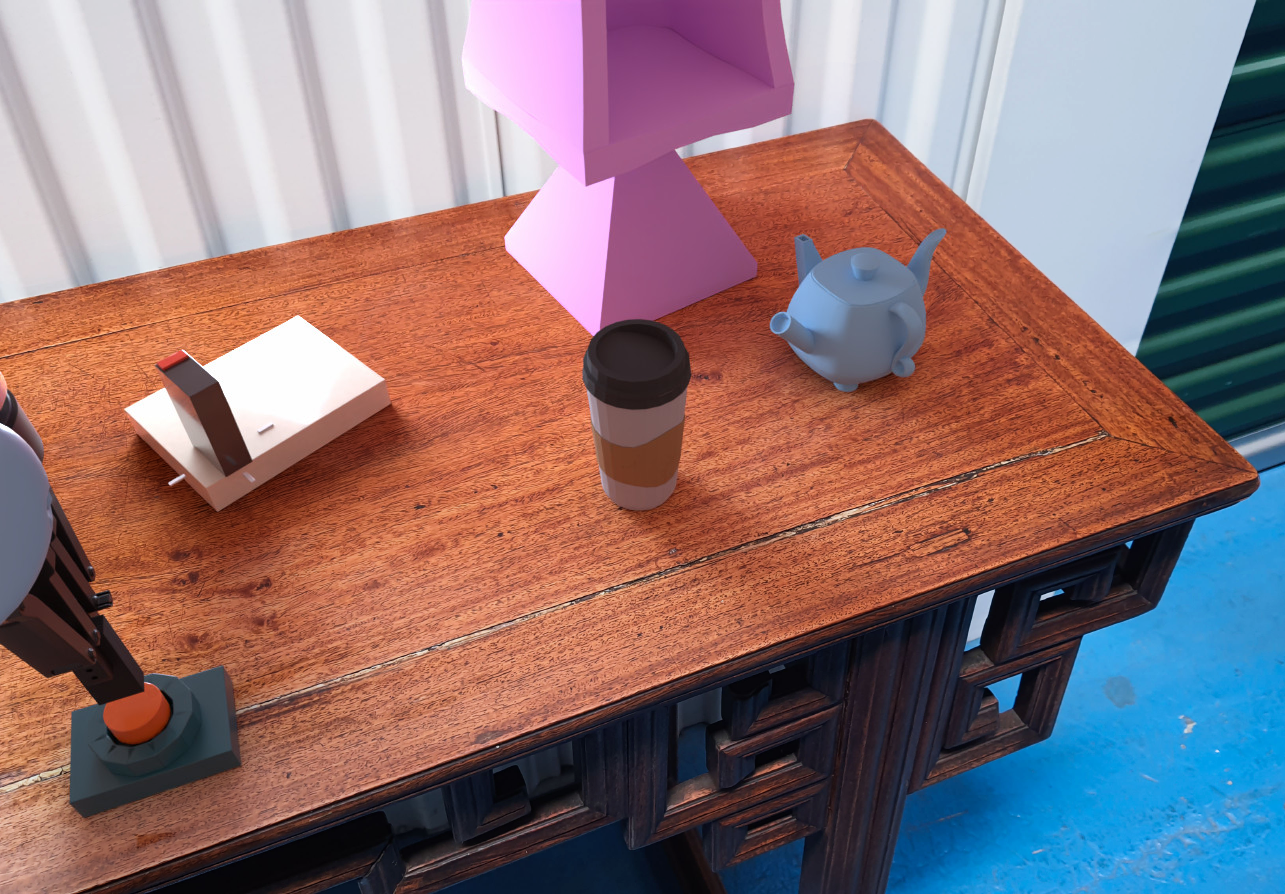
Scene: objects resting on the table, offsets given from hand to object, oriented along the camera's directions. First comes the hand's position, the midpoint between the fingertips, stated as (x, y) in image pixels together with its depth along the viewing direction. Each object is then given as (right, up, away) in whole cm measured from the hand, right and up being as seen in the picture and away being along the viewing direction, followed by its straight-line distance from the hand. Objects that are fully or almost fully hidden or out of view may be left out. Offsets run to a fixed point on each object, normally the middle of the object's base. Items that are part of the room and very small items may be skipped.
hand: (121, 688), depth 63 cm
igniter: (0, -5, +5) cm, 7 cm away
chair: (+32, +35, +45) cm, 65 cm away
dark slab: (-2, +15, +21) cm, 25 cm away
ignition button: (0, -3, +3) cm, 4 cm away
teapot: (+53, +24, +34) cm, 67 cm away
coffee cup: (+33, +12, +22) cm, 41 cm away
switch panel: (-1, +17, +27) cm, 32 cm away
